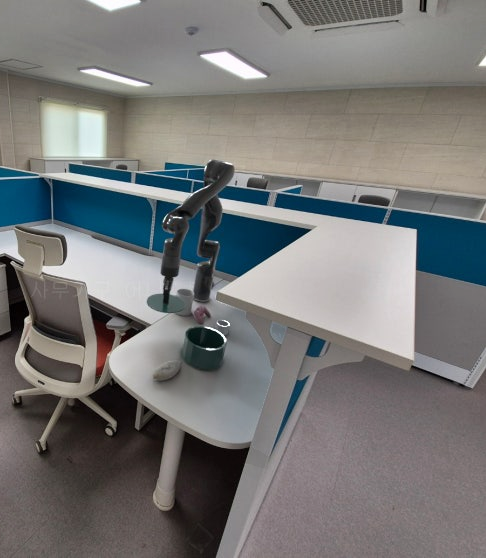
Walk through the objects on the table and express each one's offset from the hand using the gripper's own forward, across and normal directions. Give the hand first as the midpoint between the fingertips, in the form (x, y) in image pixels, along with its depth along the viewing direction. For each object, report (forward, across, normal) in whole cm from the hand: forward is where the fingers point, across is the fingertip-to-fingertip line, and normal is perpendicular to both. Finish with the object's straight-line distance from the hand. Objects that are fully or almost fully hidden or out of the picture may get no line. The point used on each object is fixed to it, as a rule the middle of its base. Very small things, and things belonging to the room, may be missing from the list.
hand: (166, 300), depth 132 cm
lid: (+1, 0, 0) cm, 1 cm away
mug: (+15, +19, -6) cm, 25 cm away
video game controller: (+15, +16, -17) cm, 28 cm away
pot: (+15, -14, -18) cm, 27 cm away
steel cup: (+15, +7, -26) cm, 31 cm away
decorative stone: (+15, -28, -6) cm, 33 cm away
